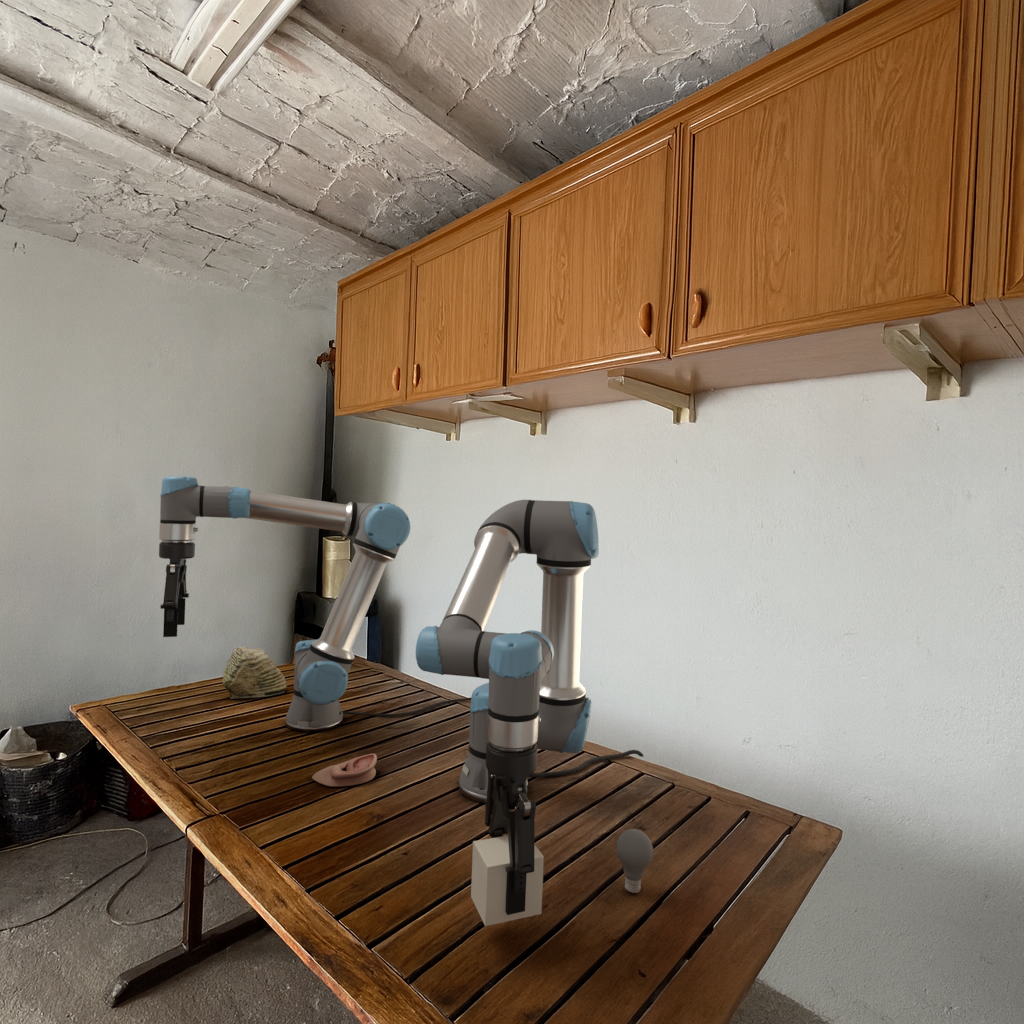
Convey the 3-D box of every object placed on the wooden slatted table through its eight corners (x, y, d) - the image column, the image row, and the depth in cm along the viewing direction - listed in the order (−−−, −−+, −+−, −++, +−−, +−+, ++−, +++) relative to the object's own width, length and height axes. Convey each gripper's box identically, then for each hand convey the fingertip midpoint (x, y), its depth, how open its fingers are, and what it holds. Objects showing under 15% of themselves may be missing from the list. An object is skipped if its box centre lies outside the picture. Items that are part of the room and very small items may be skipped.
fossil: (218, 695, 195) (220, 647, 195) (278, 685, 208) (279, 640, 207) (228, 703, 189) (230, 653, 188) (289, 692, 201) (290, 645, 201)
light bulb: (610, 879, 108) (613, 822, 108) (644, 879, 109) (647, 822, 109) (619, 902, 102) (622, 840, 102) (655, 901, 103) (658, 840, 103)
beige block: (485, 926, 89) (487, 867, 88) (470, 896, 95) (472, 841, 95) (541, 914, 92) (543, 856, 92) (524, 885, 98) (526, 832, 98)
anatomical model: (305, 765, 139) (330, 745, 150) (304, 783, 139) (330, 762, 151) (361, 773, 137) (383, 752, 148) (360, 791, 137) (382, 769, 148)
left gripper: (188, 545, 140) (185, 641, 140) (200, 537, 163) (197, 619, 164) (150, 545, 137) (146, 642, 138) (167, 537, 160) (164, 620, 161)
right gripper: (564, 767, 85) (557, 934, 86) (512, 715, 103) (506, 853, 104) (512, 774, 82) (505, 947, 83) (467, 720, 101) (462, 861, 101)
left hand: (174, 630), depth 151 cm, fingers open, 13 cm apart
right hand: (505, 894), depth 93 cm, fingers closed on beige block, 7 cm apart
